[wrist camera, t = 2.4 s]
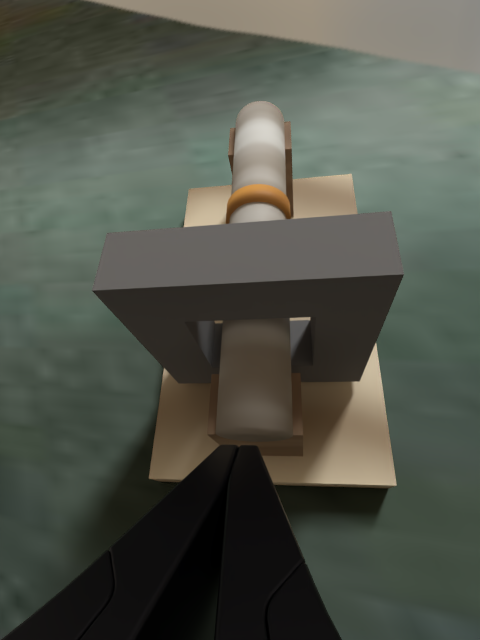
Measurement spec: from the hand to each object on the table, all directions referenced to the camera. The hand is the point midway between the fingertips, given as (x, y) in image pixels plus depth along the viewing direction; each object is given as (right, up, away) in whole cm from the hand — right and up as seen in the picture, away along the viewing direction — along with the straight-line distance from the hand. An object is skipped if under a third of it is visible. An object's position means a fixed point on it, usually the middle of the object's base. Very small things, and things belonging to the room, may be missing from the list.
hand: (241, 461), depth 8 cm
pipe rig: (+2, +3, +12) cm, 13 cm away
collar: (+1, +1, +9) cm, 9 cm away
